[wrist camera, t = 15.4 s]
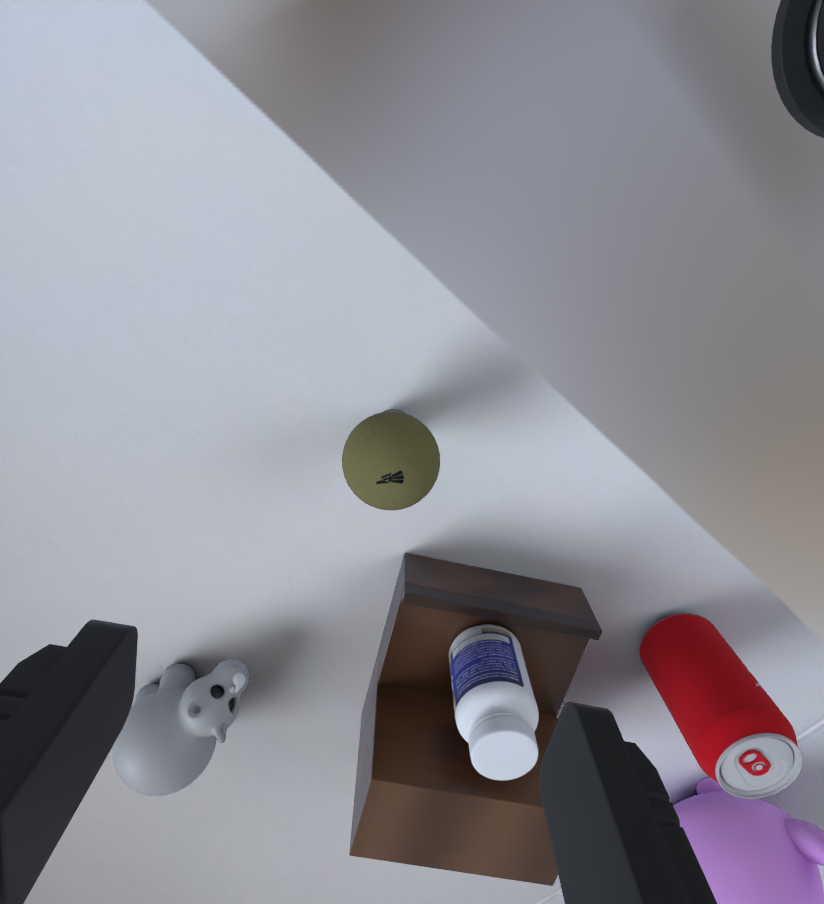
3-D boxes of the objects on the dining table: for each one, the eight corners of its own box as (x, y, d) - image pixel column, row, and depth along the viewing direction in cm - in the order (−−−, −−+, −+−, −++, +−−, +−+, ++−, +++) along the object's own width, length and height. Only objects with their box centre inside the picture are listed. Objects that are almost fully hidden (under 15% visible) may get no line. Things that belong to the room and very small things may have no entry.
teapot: (757, 715, 50) (865, 863, 38) (845, 796, 54) (968, 955, 42) (578, 834, 55) (625, 998, 43) (670, 901, 59) (736, 1069, 47)
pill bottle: (433, 649, 42) (440, 753, 34) (490, 609, 41) (511, 706, 33) (479, 692, 44) (497, 802, 35) (536, 654, 42) (567, 758, 34)
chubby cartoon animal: (292, 666, 48) (269, 754, 40) (190, 738, 50) (150, 834, 42) (228, 609, 45) (190, 690, 38) (125, 687, 48) (70, 778, 40)
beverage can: (664, 683, 49) (742, 820, 37) (620, 639, 47) (688, 769, 36) (729, 640, 47) (830, 769, 36) (685, 593, 45) (778, 713, 34)
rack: (581, 587, 45) (639, 707, 34) (520, 740, 51) (552, 886, 39) (404, 552, 44) (404, 664, 33) (361, 713, 49) (349, 855, 38)
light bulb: (403, 366, 39) (403, 410, 29) (449, 432, 40) (463, 493, 31) (336, 411, 40) (315, 468, 30) (383, 473, 41) (377, 546, 32)
